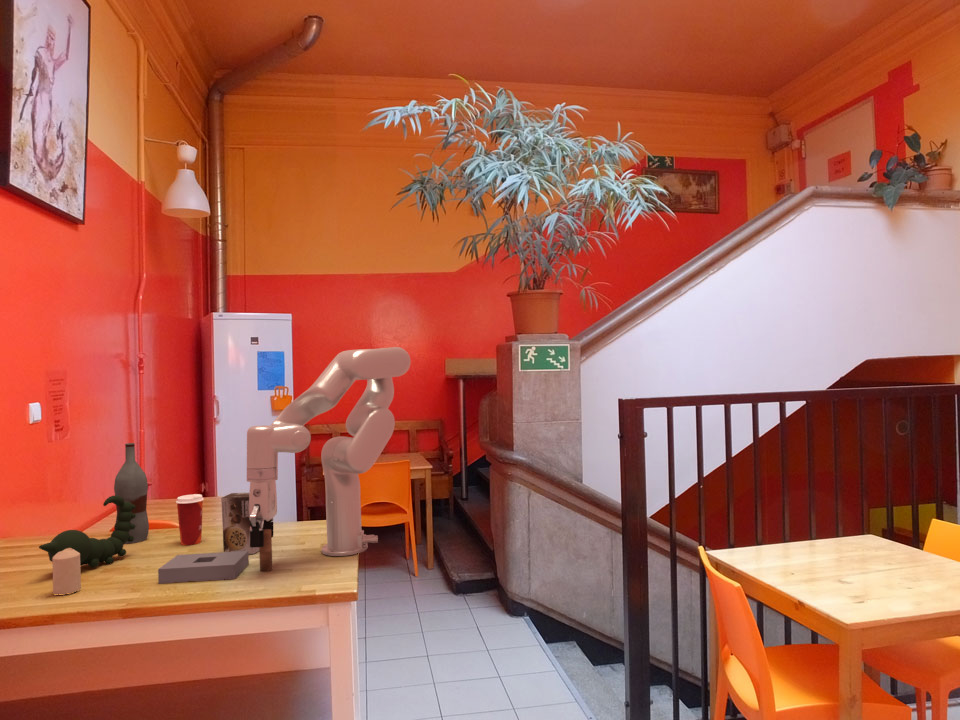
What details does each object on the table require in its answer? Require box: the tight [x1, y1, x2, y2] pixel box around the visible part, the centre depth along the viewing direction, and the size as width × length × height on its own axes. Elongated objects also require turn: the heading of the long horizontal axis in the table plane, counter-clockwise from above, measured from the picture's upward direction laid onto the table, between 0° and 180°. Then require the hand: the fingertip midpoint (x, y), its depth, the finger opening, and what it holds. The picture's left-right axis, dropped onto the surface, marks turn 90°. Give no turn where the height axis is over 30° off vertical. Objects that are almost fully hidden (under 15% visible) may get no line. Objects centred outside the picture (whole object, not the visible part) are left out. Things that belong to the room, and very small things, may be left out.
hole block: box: [157, 551, 250, 584], centre depth 161 cm, size 18×12×4 cm, turn 95°
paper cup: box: [175, 493, 205, 547], centre depth 192 cm, size 8×8×14 cm
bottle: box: [113, 442, 150, 545], centre depth 197 cm, size 9×9×30 cm
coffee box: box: [220, 492, 260, 555], centre depth 180 cm, size 9×6×16 cm
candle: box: [51, 548, 82, 595], centre depth 151 cm, size 6×6×10 cm
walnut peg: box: [258, 529, 273, 573], centre depth 162 cm, size 3×3×10 cm
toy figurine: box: [38, 494, 136, 569], centre depth 170 cm, size 9×19×25 cm
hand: (262, 542), depth 162 cm, fingers open, 9 cm apart
